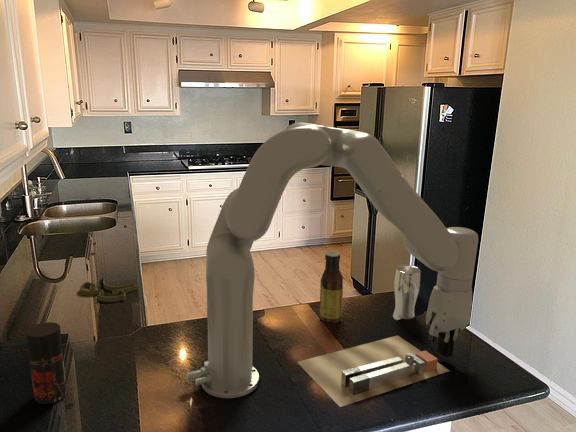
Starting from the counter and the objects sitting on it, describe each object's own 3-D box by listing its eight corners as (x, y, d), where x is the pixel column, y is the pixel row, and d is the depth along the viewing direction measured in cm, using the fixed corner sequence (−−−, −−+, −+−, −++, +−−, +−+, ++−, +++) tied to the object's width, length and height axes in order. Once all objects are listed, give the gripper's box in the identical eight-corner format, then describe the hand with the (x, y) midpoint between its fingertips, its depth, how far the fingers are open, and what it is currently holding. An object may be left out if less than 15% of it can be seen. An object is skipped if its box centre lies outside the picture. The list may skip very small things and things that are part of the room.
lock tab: (424, 359, 110) (425, 350, 110) (436, 368, 107) (437, 358, 106) (414, 362, 109) (415, 353, 108) (426, 371, 106) (427, 361, 105)
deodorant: (30, 395, 96) (22, 328, 92) (60, 383, 100) (53, 319, 96) (40, 408, 92) (31, 340, 88) (71, 396, 96) (64, 329, 92)
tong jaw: (397, 368, 107) (398, 356, 106) (401, 371, 105) (402, 360, 105) (341, 383, 100) (341, 371, 100) (345, 387, 99) (345, 375, 98)
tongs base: (409, 363, 109) (411, 350, 108) (423, 374, 105) (425, 359, 104) (341, 384, 100) (342, 369, 99) (354, 396, 96) (355, 381, 95)
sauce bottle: (327, 312, 137) (330, 247, 132) (345, 319, 133) (349, 252, 128) (314, 320, 132) (317, 253, 127) (332, 327, 128) (336, 258, 123)
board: (339, 412, 93) (340, 406, 93) (296, 366, 109) (296, 362, 108) (449, 375, 107) (449, 370, 106) (397, 339, 122) (397, 335, 122)
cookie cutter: (143, 290, 149) (143, 285, 149) (118, 305, 138) (118, 299, 138) (97, 282, 155) (97, 276, 154) (70, 296, 144) (69, 290, 143)
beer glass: (386, 314, 136) (390, 266, 133) (406, 311, 139) (411, 263, 135) (400, 325, 130) (405, 274, 126) (421, 321, 133) (426, 272, 129)
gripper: (464, 271, 113) (455, 340, 117) (417, 280, 106) (409, 353, 110) (490, 282, 106) (479, 355, 111) (442, 293, 99) (432, 369, 104)
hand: (444, 354), depth 110 cm, fingers closed
